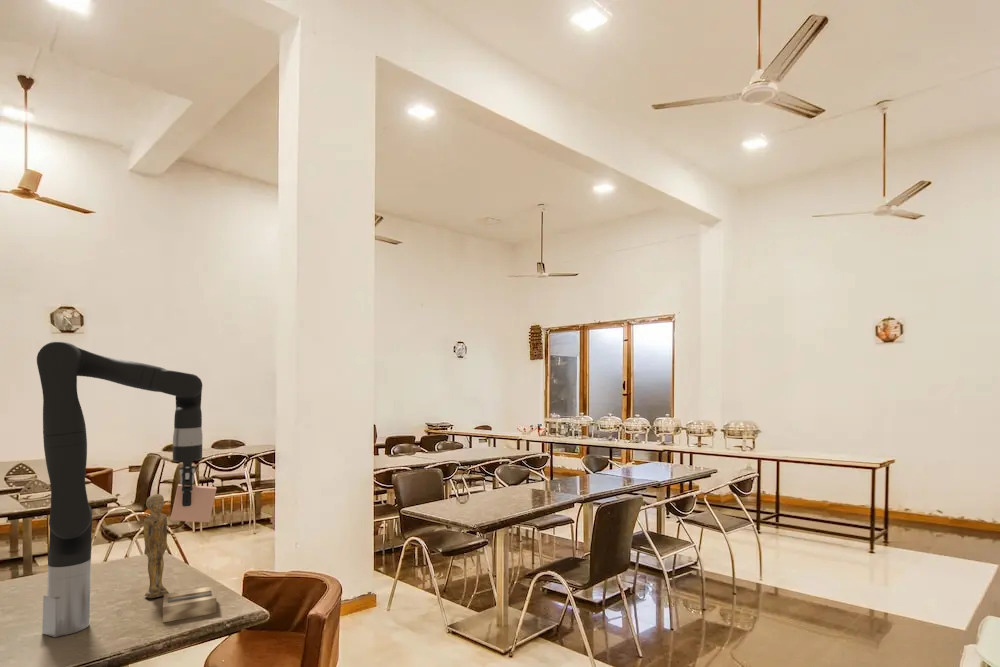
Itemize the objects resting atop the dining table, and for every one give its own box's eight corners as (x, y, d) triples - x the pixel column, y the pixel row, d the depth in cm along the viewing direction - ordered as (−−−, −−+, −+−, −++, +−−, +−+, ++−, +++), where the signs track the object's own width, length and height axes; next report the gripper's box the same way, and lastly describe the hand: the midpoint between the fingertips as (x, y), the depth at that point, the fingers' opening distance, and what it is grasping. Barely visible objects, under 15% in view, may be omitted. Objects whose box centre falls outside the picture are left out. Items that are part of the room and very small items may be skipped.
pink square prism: (170, 520, 169) (178, 485, 170) (170, 518, 172) (178, 484, 173) (209, 522, 173) (216, 488, 175) (208, 520, 176) (216, 487, 177)
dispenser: (162, 622, 162) (162, 604, 162) (163, 608, 171) (164, 591, 172) (216, 612, 168) (216, 595, 168) (214, 599, 177) (214, 583, 178)
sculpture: (148, 601, 177) (150, 497, 179) (138, 597, 181) (140, 495, 183) (172, 594, 182) (173, 493, 184) (162, 590, 186) (164, 491, 188)
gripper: (203, 445, 169) (202, 508, 168) (201, 440, 181) (200, 499, 180) (172, 447, 166) (171, 511, 164) (173, 442, 178) (172, 501, 177)
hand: (186, 504), depth 172 cm, fingers closed on pink square prism, 2 cm apart
